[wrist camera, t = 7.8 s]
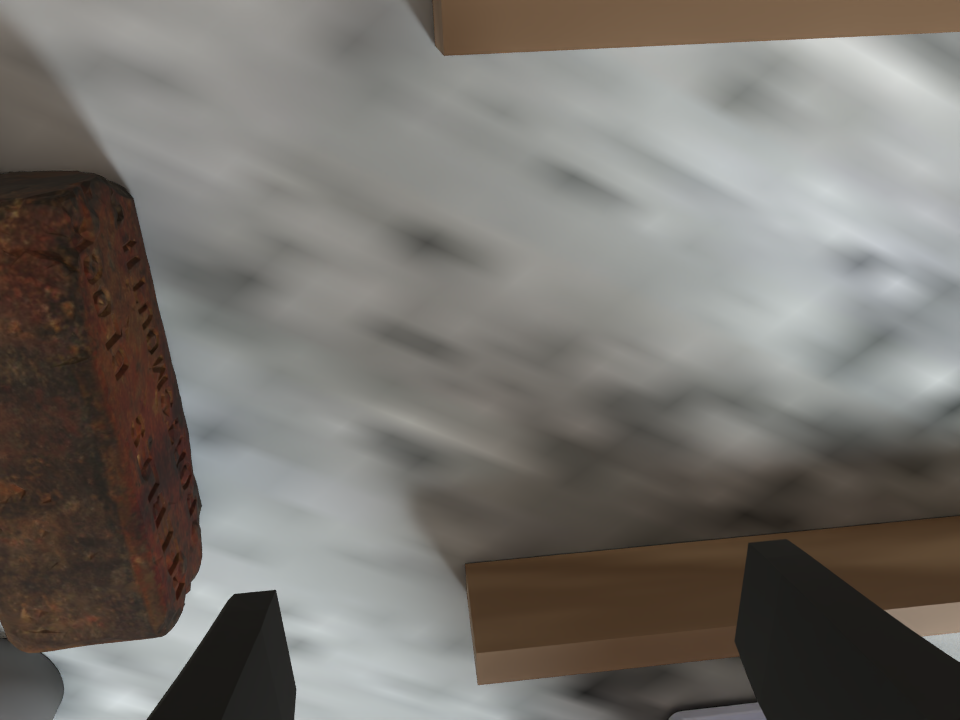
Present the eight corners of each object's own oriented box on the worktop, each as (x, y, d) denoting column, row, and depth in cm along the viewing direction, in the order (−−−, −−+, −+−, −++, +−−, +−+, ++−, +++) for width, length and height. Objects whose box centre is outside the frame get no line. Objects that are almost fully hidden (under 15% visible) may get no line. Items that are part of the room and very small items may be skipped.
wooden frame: (1098, 529, 26) (1200, 605, 22) (466, 593, 24) (477, 685, 21) (1329, -49, 18) (1532, -60, 15) (431, -14, 16) (439, -18, 13)
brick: (219, 524, 22) (178, 645, 18) (80, 537, 22) (5, 664, 18) (133, 158, 18) (50, 205, 13) (-44, 168, 17) (-186, 220, 13)
